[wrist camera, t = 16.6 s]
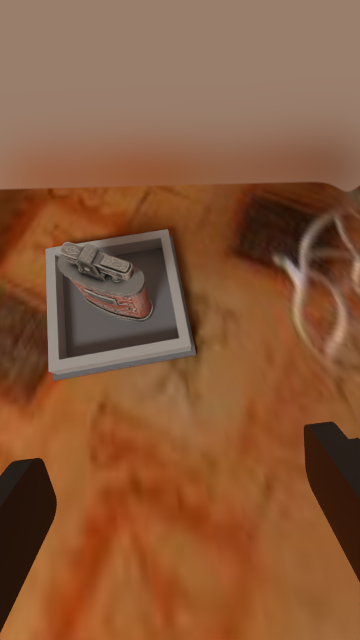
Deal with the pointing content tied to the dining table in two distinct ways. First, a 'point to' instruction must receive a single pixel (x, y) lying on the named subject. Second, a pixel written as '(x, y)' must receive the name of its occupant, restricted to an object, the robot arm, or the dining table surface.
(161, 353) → the tray
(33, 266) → the dining table surface
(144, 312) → the lighter
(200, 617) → the dining table surface
